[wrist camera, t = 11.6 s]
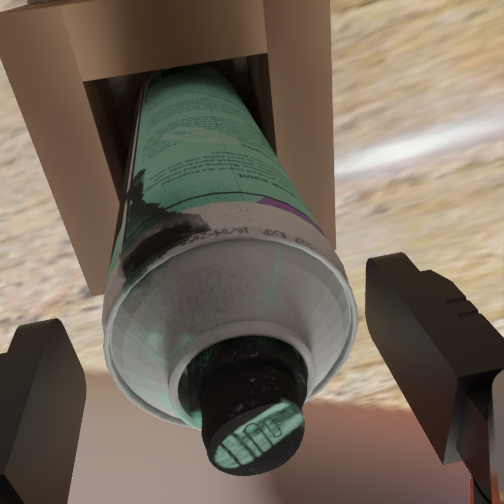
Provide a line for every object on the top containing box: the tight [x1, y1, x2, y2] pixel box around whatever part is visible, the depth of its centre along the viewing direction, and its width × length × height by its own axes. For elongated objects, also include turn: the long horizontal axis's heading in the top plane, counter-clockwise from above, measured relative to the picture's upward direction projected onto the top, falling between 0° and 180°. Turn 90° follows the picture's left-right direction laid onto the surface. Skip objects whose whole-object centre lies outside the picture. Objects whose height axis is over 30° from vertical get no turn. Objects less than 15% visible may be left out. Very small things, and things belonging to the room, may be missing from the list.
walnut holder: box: [0, 0, 336, 296], centre depth 22 cm, size 12×12×6 cm
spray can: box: [102, 63, 358, 476], centre depth 16 cm, size 6×6×20 cm
